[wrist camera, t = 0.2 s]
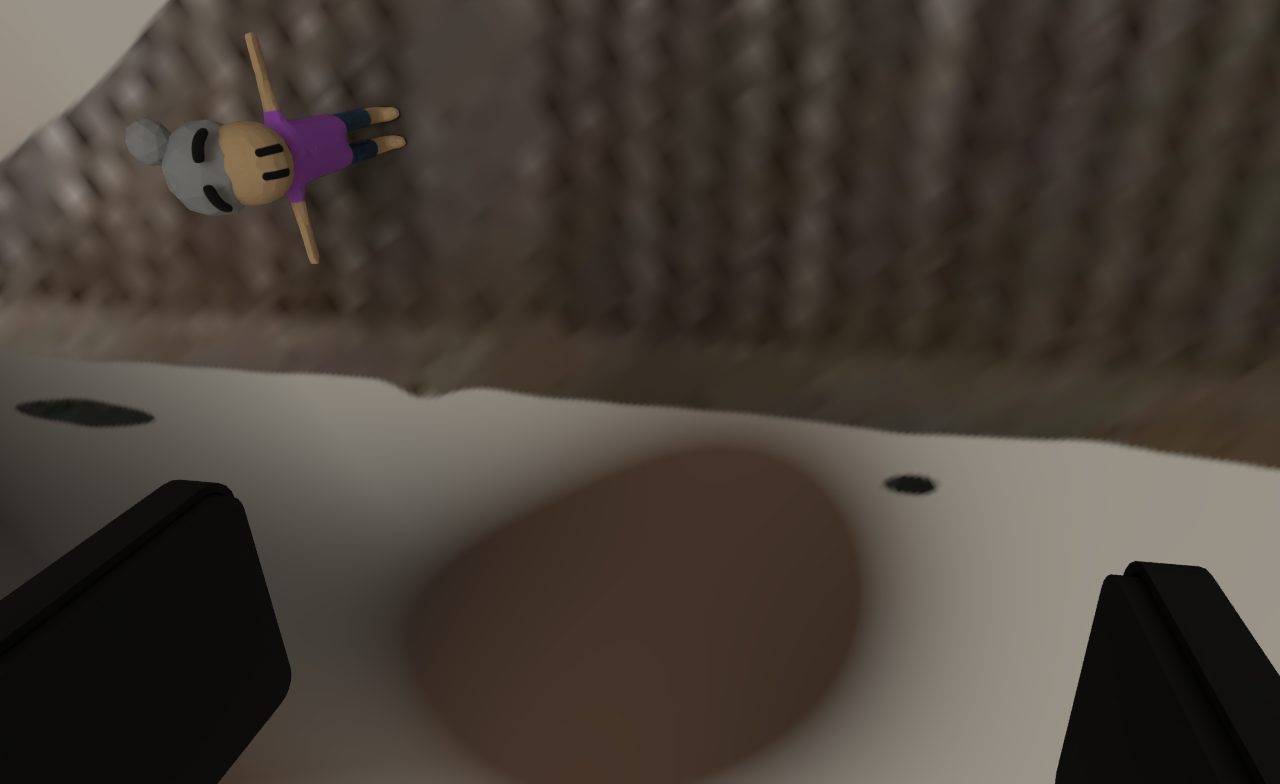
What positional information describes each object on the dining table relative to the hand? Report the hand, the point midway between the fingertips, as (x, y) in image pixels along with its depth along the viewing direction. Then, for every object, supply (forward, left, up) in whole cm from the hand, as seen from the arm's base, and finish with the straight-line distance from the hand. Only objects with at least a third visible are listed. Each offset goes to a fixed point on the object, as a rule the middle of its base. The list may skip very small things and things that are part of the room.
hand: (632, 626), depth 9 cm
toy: (-14, -19, -37) cm, 44 cm away
